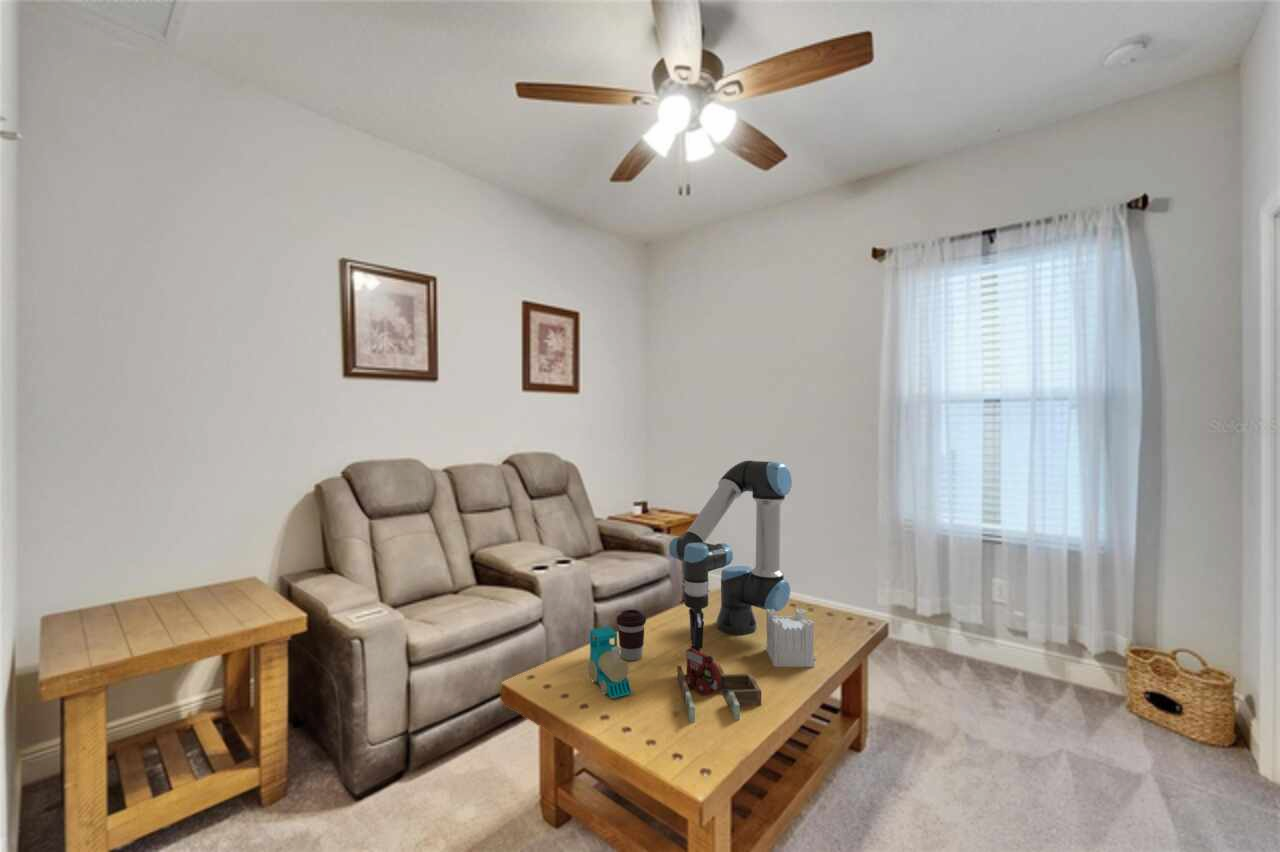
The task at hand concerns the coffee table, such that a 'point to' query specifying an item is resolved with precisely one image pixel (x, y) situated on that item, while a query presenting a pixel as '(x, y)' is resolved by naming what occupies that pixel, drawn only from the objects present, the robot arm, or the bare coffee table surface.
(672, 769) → the coffee table surface
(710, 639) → the coffee table surface
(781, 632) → the castle model
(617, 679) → the toy train
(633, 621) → the coffee cup
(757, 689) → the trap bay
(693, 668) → the toy fire truck
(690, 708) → the channel
